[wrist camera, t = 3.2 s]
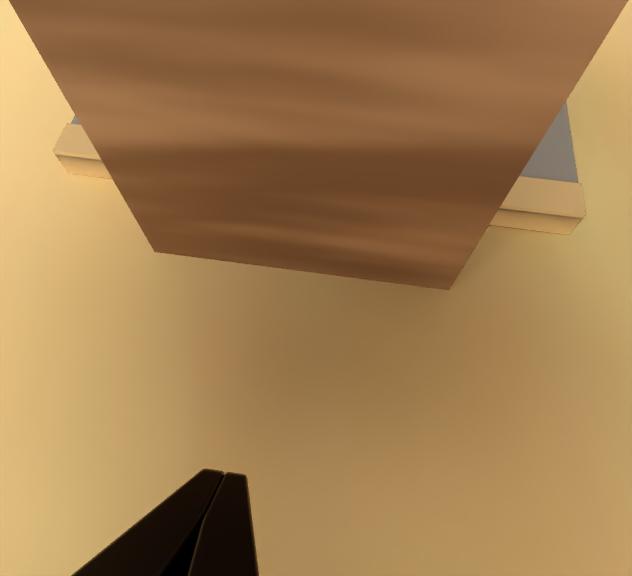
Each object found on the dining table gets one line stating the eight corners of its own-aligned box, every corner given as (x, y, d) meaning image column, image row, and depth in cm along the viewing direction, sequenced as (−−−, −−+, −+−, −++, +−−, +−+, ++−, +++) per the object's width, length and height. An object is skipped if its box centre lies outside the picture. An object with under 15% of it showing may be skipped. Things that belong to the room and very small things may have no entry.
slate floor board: (568, 234, 19) (586, 214, 18) (68, 173, 20) (52, 150, 19) (535, -16, 27) (546, -41, 26) (177, -50, 28) (172, -77, 27)
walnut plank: (448, 290, 18) (760, -213, 6) (154, 251, 19) (-155, -283, 6) (449, 227, 19) (702, -291, 7) (175, 194, 20) (-46, -341, 8)
